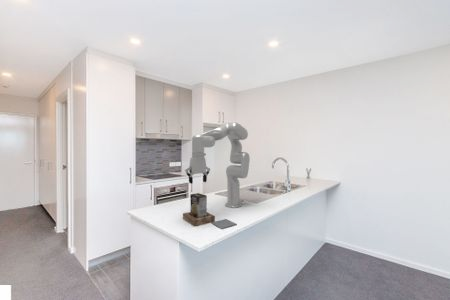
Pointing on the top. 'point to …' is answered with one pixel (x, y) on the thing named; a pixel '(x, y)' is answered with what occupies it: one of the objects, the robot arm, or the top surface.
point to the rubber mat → (223, 223)
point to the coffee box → (198, 205)
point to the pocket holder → (198, 221)
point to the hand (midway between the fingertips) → (197, 182)
